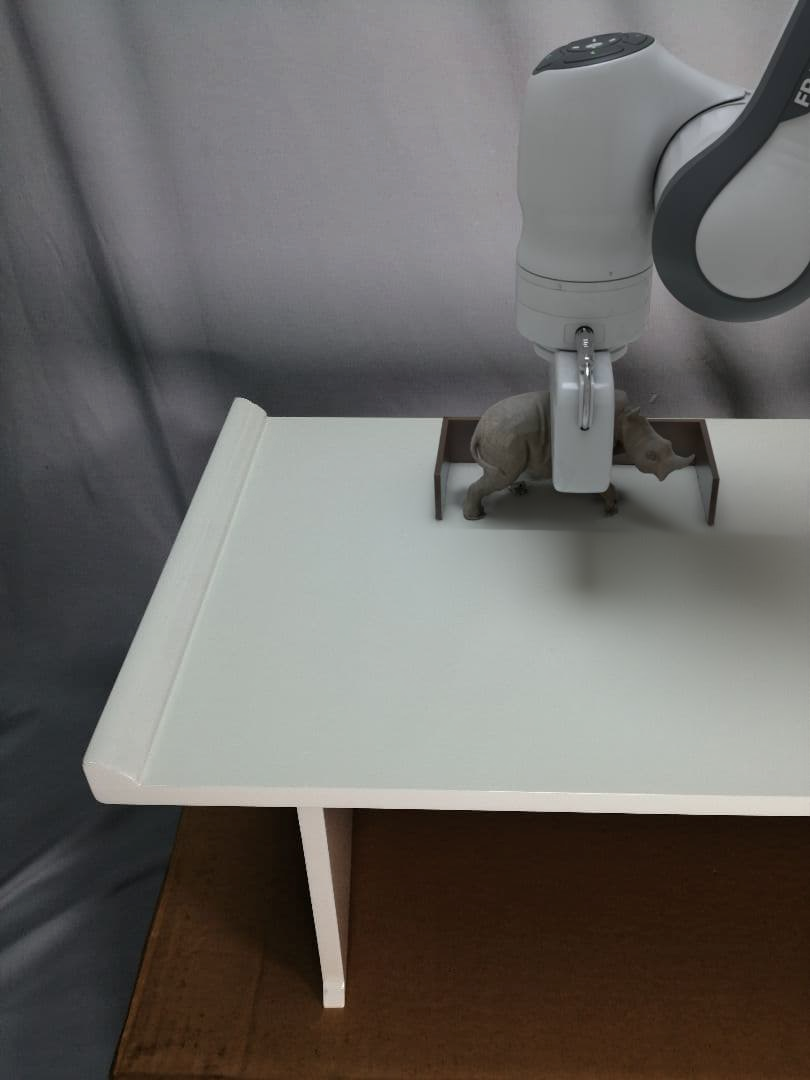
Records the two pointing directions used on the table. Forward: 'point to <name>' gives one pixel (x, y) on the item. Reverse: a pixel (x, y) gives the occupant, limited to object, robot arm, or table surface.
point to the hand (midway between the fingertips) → (573, 481)
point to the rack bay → (680, 432)
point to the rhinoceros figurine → (526, 453)
